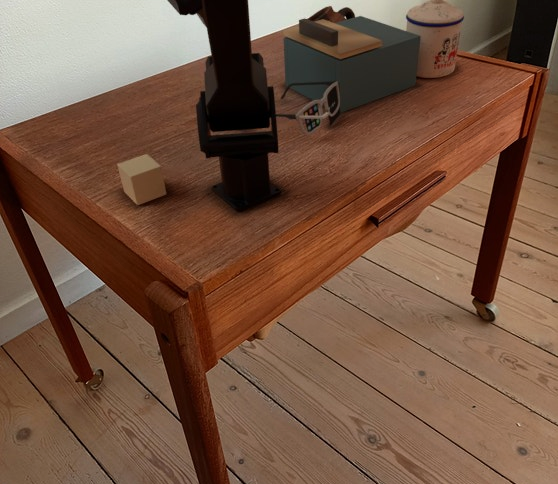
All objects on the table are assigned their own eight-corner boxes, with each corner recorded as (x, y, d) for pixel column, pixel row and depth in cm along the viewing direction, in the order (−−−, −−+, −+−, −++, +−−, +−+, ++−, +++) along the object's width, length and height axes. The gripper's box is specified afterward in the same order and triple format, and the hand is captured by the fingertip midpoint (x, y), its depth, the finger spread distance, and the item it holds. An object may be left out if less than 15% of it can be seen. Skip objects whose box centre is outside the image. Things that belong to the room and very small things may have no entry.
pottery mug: (339, 64, 104) (316, 22, 100) (306, 76, 112) (283, 37, 108) (376, 28, 109) (355, -14, 105) (342, 41, 116) (321, 3, 113)
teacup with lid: (440, 83, 95) (451, 6, 87) (391, 72, 99) (397, -2, 92) (472, 60, 102) (484, -13, 94) (424, 51, 106) (433, -20, 99)
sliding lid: (382, 46, 86) (383, 26, 84) (340, 59, 83) (340, 39, 81) (323, 24, 95) (323, 5, 93) (283, 35, 92) (282, 16, 90)
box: (415, 85, 95) (420, 35, 90) (338, 113, 88) (340, 61, 83) (358, 62, 104) (360, 15, 99) (285, 86, 97) (283, 37, 92)
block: (166, 194, 73) (161, 166, 70) (137, 205, 71) (130, 176, 69) (152, 181, 76) (146, 153, 73) (124, 192, 74) (117, 163, 71)
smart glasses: (328, 148, 79) (321, 113, 76) (244, 144, 87) (235, 112, 84) (367, 111, 86) (362, 78, 83) (286, 111, 94) (279, 80, 91)
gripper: (246, -169, 71) (252, -58, 86) (116, -98, 68) (146, 5, 83) (302, -114, 68) (298, -10, 83) (170, -38, 65) (191, 57, 80)
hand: (233, 9), depth 82 cm, fingers open, 9 cm apart
